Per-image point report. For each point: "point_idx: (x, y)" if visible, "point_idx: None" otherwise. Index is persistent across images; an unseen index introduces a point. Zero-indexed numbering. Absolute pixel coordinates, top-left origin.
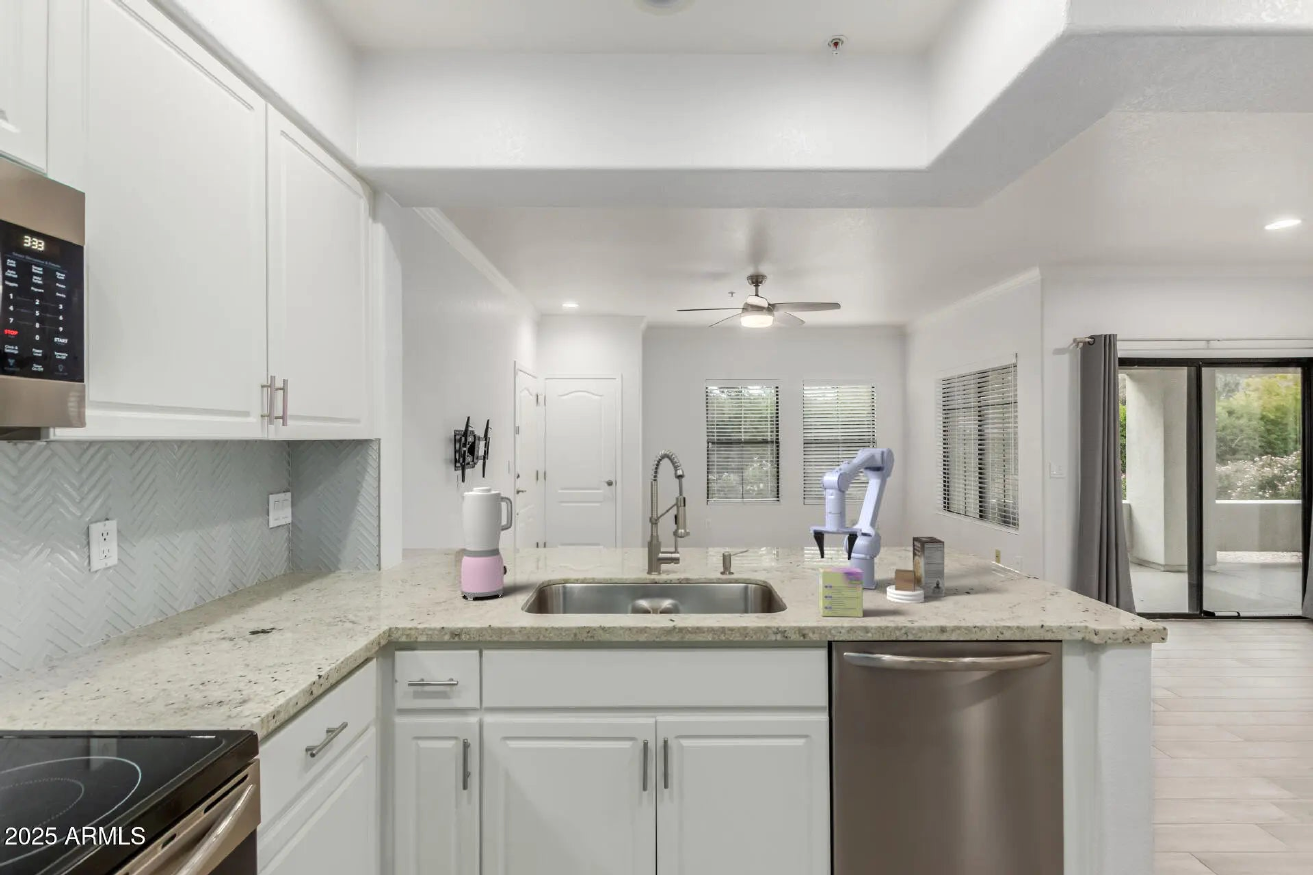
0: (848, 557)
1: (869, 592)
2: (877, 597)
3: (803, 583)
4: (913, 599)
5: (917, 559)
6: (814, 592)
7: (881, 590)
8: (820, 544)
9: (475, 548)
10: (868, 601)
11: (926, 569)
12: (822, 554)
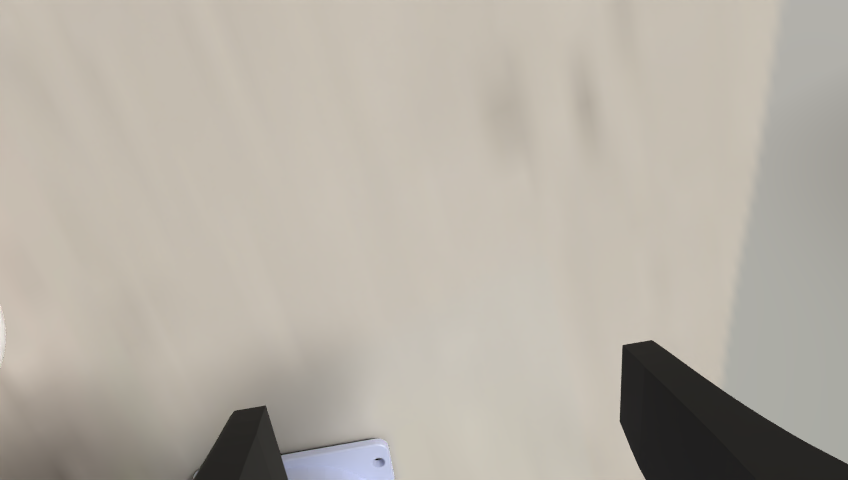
0: (244, 429)
1: (190, 377)
2: (63, 262)
3: None
4: None
5: None
6: (582, 174)
7: (140, 466)
8: (793, 476)
9: None
10: (58, 84)
11: None
12: (658, 371)
